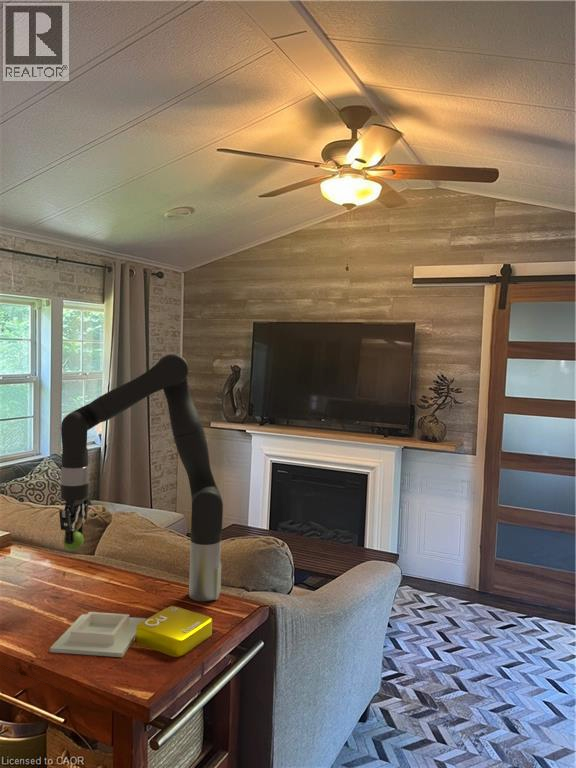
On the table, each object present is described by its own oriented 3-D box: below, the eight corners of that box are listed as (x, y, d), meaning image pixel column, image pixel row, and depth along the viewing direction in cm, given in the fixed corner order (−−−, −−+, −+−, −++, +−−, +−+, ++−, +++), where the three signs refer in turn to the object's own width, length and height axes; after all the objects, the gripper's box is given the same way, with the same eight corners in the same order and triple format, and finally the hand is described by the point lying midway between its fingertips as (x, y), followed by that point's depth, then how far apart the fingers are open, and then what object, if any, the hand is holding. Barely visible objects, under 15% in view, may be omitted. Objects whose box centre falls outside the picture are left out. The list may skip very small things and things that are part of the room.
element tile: (178, 659, 132) (178, 640, 132) (132, 642, 139) (132, 624, 139) (215, 633, 145) (215, 616, 145) (171, 619, 152) (171, 602, 152)
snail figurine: (90, 547, 160) (90, 507, 159) (73, 554, 154) (73, 512, 153) (76, 544, 162) (76, 504, 161) (59, 551, 156) (59, 509, 155)
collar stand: (146, 621, 150) (146, 609, 149) (122, 657, 132) (122, 643, 131) (82, 617, 151) (82, 605, 150) (49, 652, 133) (50, 638, 133)
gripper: (76, 488, 149) (75, 549, 150) (97, 476, 163) (97, 532, 164) (49, 486, 149) (49, 547, 150) (73, 476, 164) (72, 531, 165)
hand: (74, 539), depth 157 cm, fingers closed on snail figurine, 5 cm apart
